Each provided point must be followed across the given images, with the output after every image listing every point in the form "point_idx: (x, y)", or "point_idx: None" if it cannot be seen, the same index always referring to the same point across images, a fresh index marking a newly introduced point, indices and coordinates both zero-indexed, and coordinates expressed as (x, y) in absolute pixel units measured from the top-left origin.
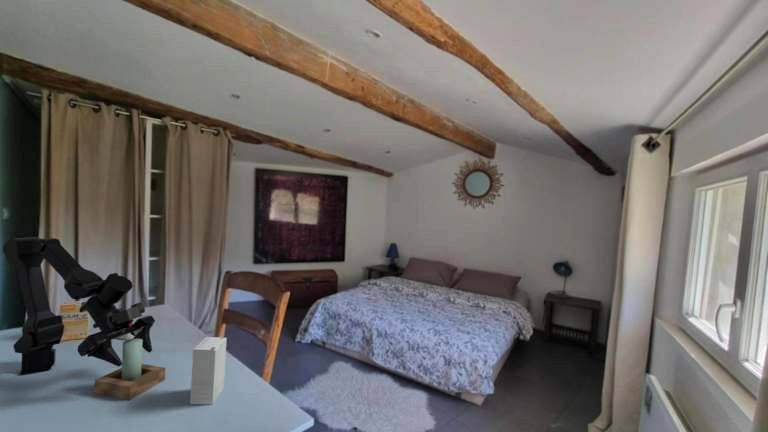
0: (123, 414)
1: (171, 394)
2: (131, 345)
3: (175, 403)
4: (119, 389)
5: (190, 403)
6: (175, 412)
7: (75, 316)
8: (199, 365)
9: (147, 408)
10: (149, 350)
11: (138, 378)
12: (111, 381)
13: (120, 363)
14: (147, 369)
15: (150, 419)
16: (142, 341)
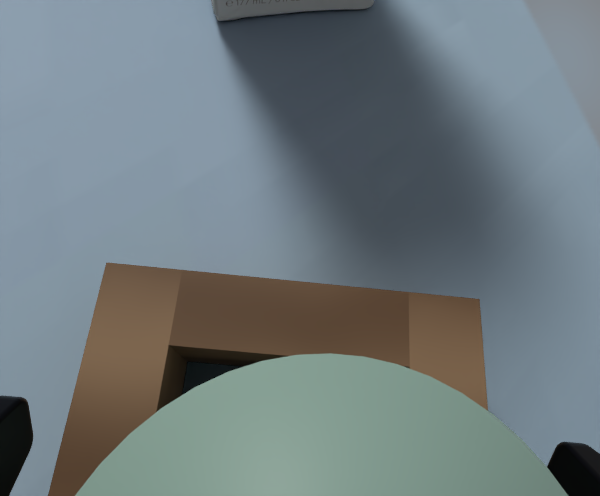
0: (553, 240)
1: (309, 137)
2: (536, 469)
3: (382, 71)
4: None
5: (373, 2)
6: (445, 33)
7: None
8: None
9: (465, 165)
10: (16, 435)
11: (347, 341)
12: None
13: (595, 455)
14: (158, 409)
15: (528, 95)
16: (150, 425)
